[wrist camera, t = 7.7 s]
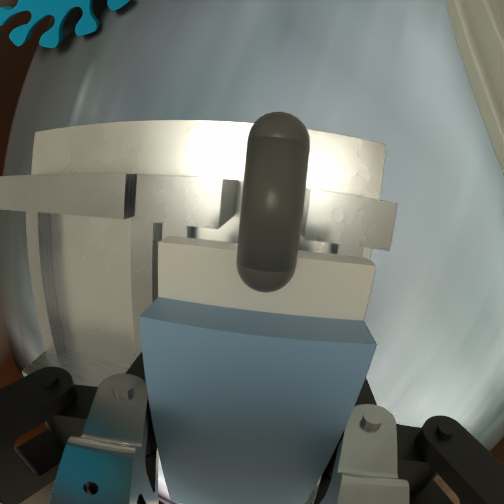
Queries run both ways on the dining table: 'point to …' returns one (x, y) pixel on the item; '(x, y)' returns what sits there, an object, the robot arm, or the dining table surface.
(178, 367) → the block
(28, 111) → the dining table surface
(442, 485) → the cooking pot
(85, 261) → the plate
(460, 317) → the dining table surface
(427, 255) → the dining table surface
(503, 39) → the plate stack
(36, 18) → the gear
